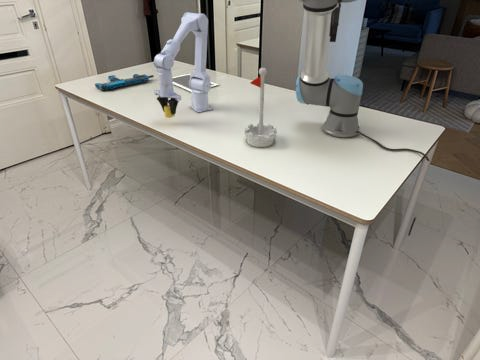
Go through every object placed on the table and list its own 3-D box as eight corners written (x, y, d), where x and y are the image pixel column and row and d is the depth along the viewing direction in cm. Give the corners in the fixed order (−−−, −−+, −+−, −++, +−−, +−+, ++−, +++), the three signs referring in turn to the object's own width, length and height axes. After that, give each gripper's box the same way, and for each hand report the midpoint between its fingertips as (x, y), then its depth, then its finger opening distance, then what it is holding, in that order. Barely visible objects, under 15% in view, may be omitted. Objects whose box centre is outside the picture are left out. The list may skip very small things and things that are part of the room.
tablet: (162, 79, 213) (162, 79, 213) (189, 73, 224) (189, 73, 224) (191, 92, 193) (191, 91, 192) (219, 85, 204) (219, 84, 203)
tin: (165, 114, 156) (164, 105, 154) (174, 113, 157) (173, 104, 154) (164, 118, 153) (163, 108, 150) (174, 117, 153) (173, 107, 151)
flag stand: (267, 132, 148) (271, 61, 132) (281, 144, 138) (286, 70, 122) (240, 137, 144) (240, 65, 128) (252, 150, 134) (253, 74, 118)
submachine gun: (139, 68, 225) (158, 74, 208) (140, 74, 226) (158, 80, 210) (87, 78, 206) (103, 86, 189) (89, 84, 208) (104, 92, 191)
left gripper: (147, 82, 147) (151, 112, 155) (171, 88, 141) (175, 119, 148) (159, 78, 152) (163, 107, 160) (183, 84, 145) (186, 114, 153)
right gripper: (328, -13, 165) (322, 34, 177) (331, -9, 145) (325, 44, 156) (344, -13, 164) (337, 34, 176) (349, -9, 144) (341, 44, 155)
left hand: (169, 112), depth 154 cm, fingers closed on tin, 4 cm apart
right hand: (331, 39), depth 166 cm, fingers open, 13 cm apart
